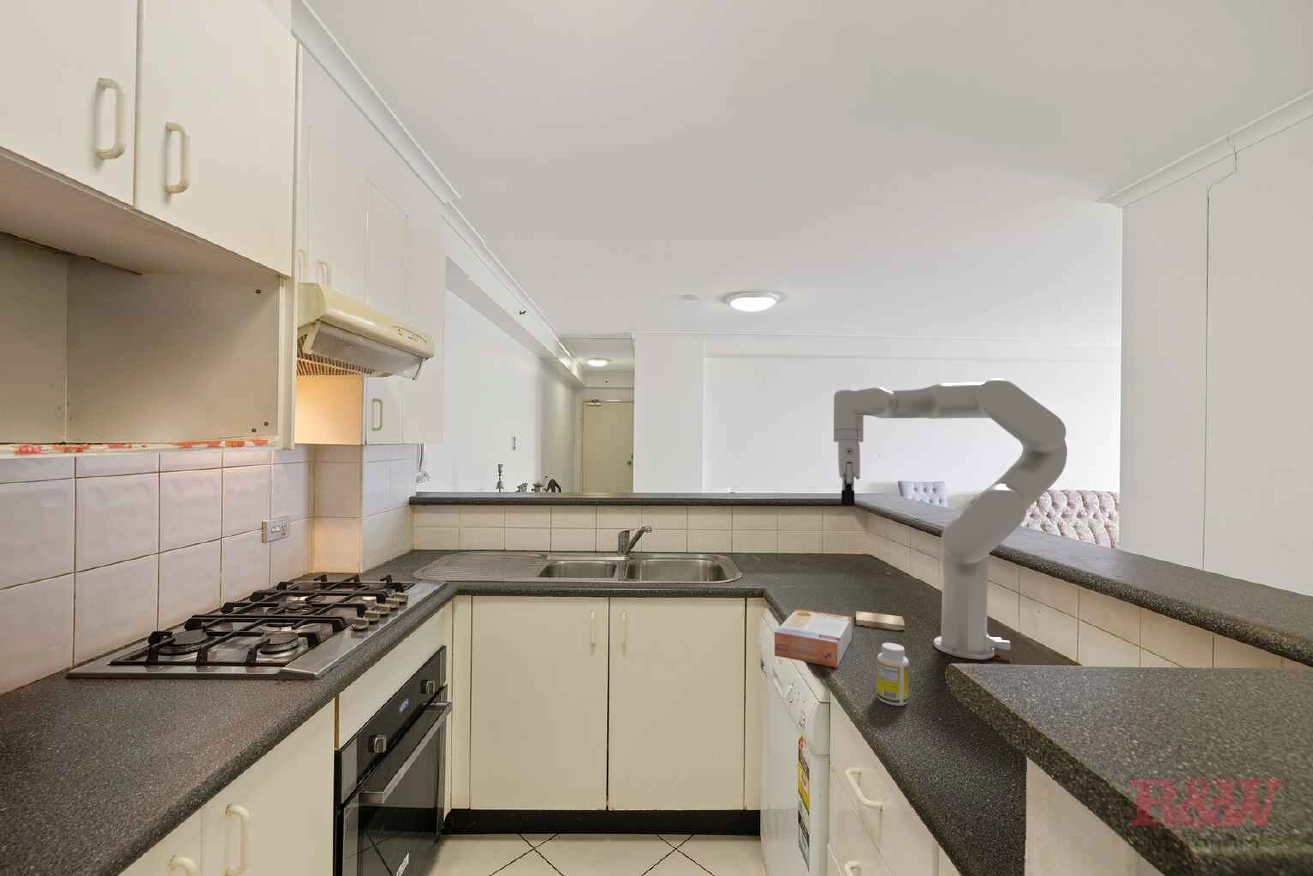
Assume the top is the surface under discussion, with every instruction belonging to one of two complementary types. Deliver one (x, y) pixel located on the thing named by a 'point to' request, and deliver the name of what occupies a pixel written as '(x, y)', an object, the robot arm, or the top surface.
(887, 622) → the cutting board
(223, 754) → the top surface
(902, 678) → the supplement bottle
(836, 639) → the cracker box
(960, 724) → the top surface
